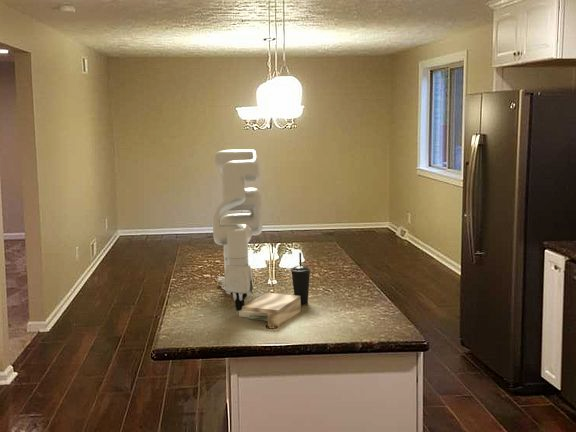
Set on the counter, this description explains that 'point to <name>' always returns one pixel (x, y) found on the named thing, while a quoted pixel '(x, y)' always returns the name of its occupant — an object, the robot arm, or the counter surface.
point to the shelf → (274, 307)
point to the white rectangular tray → (251, 313)
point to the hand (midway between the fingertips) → (239, 309)
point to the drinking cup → (301, 281)
